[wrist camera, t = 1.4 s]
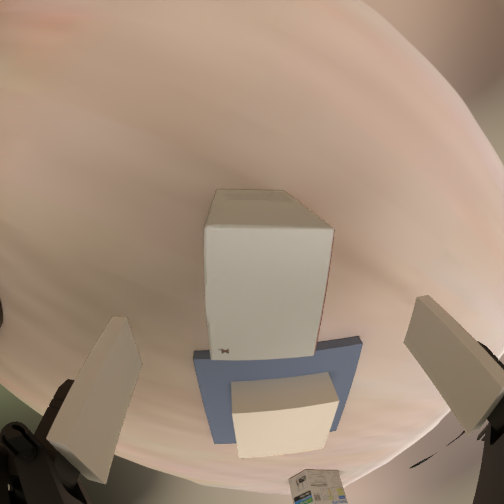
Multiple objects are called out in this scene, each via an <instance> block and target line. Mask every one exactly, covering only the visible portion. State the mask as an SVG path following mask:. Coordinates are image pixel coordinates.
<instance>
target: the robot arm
mask: <svg viewBox="0 0 504 504" xmlns="http://www.w3.org/2000/svg"><path fill="white" fill-rule="evenodd" d="M1 324H2V309H1V304H0V327H1ZM404 344H405V345H406V346H407V348H408V349H409V350H410V352H411V353H412V354H413V356H414V357H415V358H416V360H417V361H418V363H419V364H420V365H421V367H422V368H423V369H424V371H425V372H426V374H427V375H428V377H429V378H430V379H431V381H432V382H433V384H434V385H435V387H436V388H437V389H438V391H439V392H440V394H441V395H442V397H443V398H444V400H445V401H446V403H447V404H448V406H449V407H450V409H451V410H452V412H453V413H454V415H455V416H456V418H457V419H458V421H459V423H460V424H461V426H462V427H463V429H464V431H465V432H466V434H467V435H469V434H471V433H473V432H474V431H476V430H477V429H479V428H480V427H481V426H482V424H483V423H484V422H485V421H486V419H487V420H488V421H489V423H488V425H487V426H486V427H485V428H484V430H483V431H482V432H481V433H480V434H479V435H478V438H477V440H479V439H480V438H481V437H482V436H483V435H484V434H485V436H484V437H483V439H482V441H485V442H484V451H483V457H482V463H481V469H480V475H479V479H478V485H477V489H476V493H475V497H474V500H473V504H504V365H503V364H502V362H500V361H498V358H497V357H496V356H495V355H493V353H492V352H491V351H490V350H489V349H488V348H487V347H486V346H485V345H483V344H482V343H480V342H478V341H476V340H475V339H474V338H473V337H472V336H471V335H470V334H469V333H468V332H467V331H466V330H465V329H464V328H463V327H462V326H461V325H460V324H459V323H458V322H457V321H456V320H455V319H454V318H453V317H452V316H451V315H449V314H448V313H447V312H446V311H445V310H444V309H443V308H442V307H441V306H440V305H439V304H438V303H437V302H435V301H434V300H433V299H432V298H431V297H430V296H429V295H426V296H420V297H417V299H416V303H415V306H414V310H413V314H412V317H411V321H410V324H409V327H408V331H407V334H406V337H405V340H404ZM142 365H143V364H142V361H141V358H140V355H139V352H138V349H137V346H136V343H135V340H134V337H133V334H132V331H131V328H130V324H129V321H128V317H112V318H111V319H110V321H109V323H108V324H107V326H106V328H105V329H104V331H103V332H102V334H101V336H100V337H99V339H98V341H97V342H96V344H95V346H94V347H93V349H92V351H91V353H90V354H89V356H88V358H87V359H86V361H85V363H84V365H83V367H82V368H81V370H80V372H79V374H78V376H77V377H76V379H75V380H70V379H67V380H66V381H65V382H64V383H63V384H62V385H61V386H60V387H59V388H58V390H57V391H56V393H55V395H54V397H53V398H54V399H52V401H51V402H50V404H49V407H48V408H47V410H46V412H45V414H44V416H43V418H42V420H41V422H40V424H39V426H38V428H37V430H36V432H35V434H34V435H33V434H32V433H31V431H30V430H29V429H28V428H27V427H26V426H25V425H24V424H23V423H20V422H11V423H9V424H7V425H6V426H5V427H4V428H3V429H2V431H1V433H0V504H92V502H91V501H90V499H89V497H88V495H87V493H86V491H85V489H84V487H83V485H82V483H81V482H80V480H79V479H78V477H79V473H81V474H82V475H83V476H85V477H86V478H87V479H89V480H92V481H96V482H99V483H103V484H106V482H107V478H108V474H109V470H110V466H111V463H112V459H113V455H114V452H115V448H116V445H117V441H118V438H119V435H120V431H121V428H122V425H123V421H124V418H125V415H126V412H127V409H128V406H129V403H130V400H131V397H132V393H133V391H134V388H135V385H136V382H137V379H138V376H139V373H140V370H141V367H142ZM8 484H9V485H10V490H8Z"/></svg>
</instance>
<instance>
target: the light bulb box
mask: <svg viewBox="0 0 504 504" xmlns="http://www.w3.org/2000/svg"><path fill="white" fill-rule="evenodd" d="M289 484H290V489H291V494H292V499H293V504H348V502H347V499H346V495H345V492H344V489H343V486H342V482H341V479H340V476H339V472H338V470H304V471H302V472H301V473H299V474H297V475H296V476H294V477H292V478H290V479H289Z"/></svg>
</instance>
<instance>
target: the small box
mask: <svg viewBox="0 0 504 504" xmlns="http://www.w3.org/2000/svg"><path fill="white" fill-rule="evenodd" d="M334 231H335V230H334V229H333V228H332V227H331V226H330V225H329V224H327V223H326V222H325V221H324V220H322V219H321V218H320V217H318V216H317V215H316V214H315V213H313V212H312V211H310V210H309V209H308V208H307V207H305V206H304V205H303V204H301V203H300V202H299V201H297V200H296V199H295V198H293V197H292V196H291V195H289V194H288V193H286V192H285V191H277V190H225V189H220V190H216V193H215V196H214V200H213V202H212V205H211V208H210V211H209V214H208V217H207V220H206V224H205V227H204V280H205V309H206V320H207V326H208V338H209V349H210V358H211V360H267V359H282V358H296V357H306V356H313V355H314V354H315V350H316V346H317V340H318V335H319V330H320V325H321V319H322V314H323V308H324V302H325V296H326V290H327V284H328V277H329V270H330V262H331V255H332V247H333V238H334Z"/></svg>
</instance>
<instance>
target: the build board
mask: <svg viewBox="0 0 504 504" xmlns="http://www.w3.org/2000/svg"><path fill="white" fill-rule="evenodd" d="M362 345H363V343H362V341H361V340H360V338H359V336H357V337H350V338H344V339H337V340H330V341H323V342H317V346H316V350H315V354H314V355H313V356H306V357H296V358H282V359H267V360H211V358H210V351H194V356H193V361H194V366H195V370H196V375H197V379H198V383H199V388H200V392H201V396H202V400H203V404H204V408H205V412H206V415H207V419H208V423H209V426H210V430H211V434H212V437H213V440H214V444H231V443H237V449H238V455H239V458H252V457H264V456H275V455H283V454H291V453H298V452H304V451H310V450H316V449H321V448H324V445H325V443H326V440H327V437H328V434H329V432H332V431H336V429H337V426H338V424H339V421H340V418H341V415H342V412H343V409H344V406H345V403H346V400H347V397H348V394H349V391H350V388H351V385H352V381H353V378H354V375H355V371H356V368H357V364H358V360H359V357H360V353H361V349H362Z"/></svg>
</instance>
